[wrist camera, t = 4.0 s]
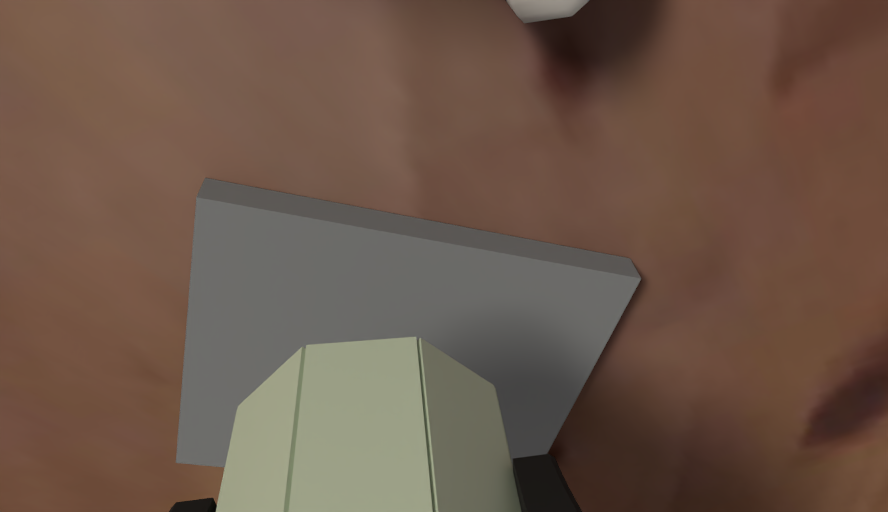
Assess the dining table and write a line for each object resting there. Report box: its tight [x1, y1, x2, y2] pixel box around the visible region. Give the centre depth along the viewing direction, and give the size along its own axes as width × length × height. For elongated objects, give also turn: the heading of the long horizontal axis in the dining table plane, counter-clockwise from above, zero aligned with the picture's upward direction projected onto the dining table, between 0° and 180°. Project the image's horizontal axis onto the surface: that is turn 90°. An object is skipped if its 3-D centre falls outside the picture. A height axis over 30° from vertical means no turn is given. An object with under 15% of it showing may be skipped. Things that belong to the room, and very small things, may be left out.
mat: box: [176, 178, 641, 467], centre depth 20 cm, size 12×10×1 cm
